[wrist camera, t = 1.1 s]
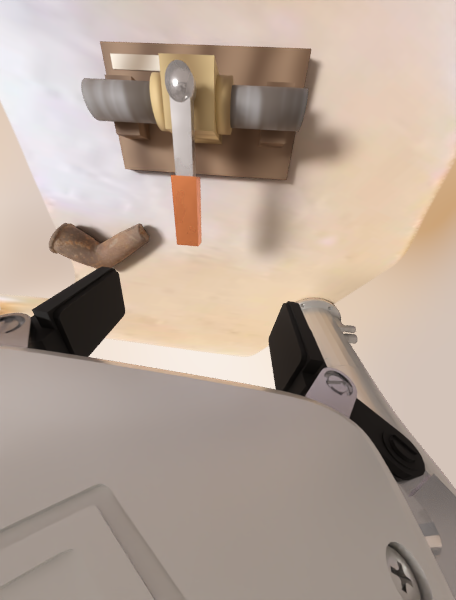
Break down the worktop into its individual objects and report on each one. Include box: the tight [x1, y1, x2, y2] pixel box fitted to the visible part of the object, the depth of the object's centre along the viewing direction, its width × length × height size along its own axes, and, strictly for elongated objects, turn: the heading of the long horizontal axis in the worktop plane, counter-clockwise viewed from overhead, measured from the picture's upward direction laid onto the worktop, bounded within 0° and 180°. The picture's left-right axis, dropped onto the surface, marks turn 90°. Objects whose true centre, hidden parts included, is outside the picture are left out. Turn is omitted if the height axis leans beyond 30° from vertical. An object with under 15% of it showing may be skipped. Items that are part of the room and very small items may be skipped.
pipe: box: [49, 223, 149, 269], centre depth 33 cm, size 6×17×10 cm
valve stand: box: [81, 41, 311, 180], centre depth 21 cm, size 24×12×10 cm, turn 87°
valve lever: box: [165, 60, 201, 246], centre depth 19 cm, size 3×15×2 cm, turn 177°
